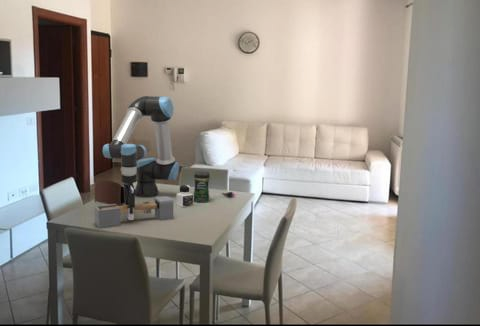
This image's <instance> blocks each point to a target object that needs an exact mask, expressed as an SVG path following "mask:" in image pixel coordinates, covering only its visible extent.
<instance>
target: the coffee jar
mask: <svg viewBox="0 0 480 326" xmlns="http://www.w3.org/2000/svg"><path fill="white" fill-rule="evenodd" d="M210 178H211V177H210V173H209V171H204V170H203V171H199V170H198V171H195V172H194V175H193V179H194V191H193V202H196V203H208V202H209V201H210V190H209V188H210V187H209V186H210V185H209V183H210Z"/></svg>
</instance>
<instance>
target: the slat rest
mask: <svg viewBox="0 0 480 326" xmlns="http://www.w3.org/2000/svg"><path fill="white" fill-rule="evenodd" d="M144 203H150V201H143V203H142V204H144ZM142 211H143V212H144V213H145V214H151V213H152V209H151V210H142Z"/></svg>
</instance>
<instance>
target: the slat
mask: <svg viewBox="0 0 480 326" xmlns="http://www.w3.org/2000/svg"><path fill="white" fill-rule="evenodd" d="M127 207H129V205H122V206H116V207H106V208H101V210H102V209H111V208H120V214H123V213H126V212H128V208H127ZM155 209H157V204H156V203H155V201H154V202H153V201H152V202H149V203H144V204H143V203H137V204H136V203H135V207H134V212H141V211H143V210H151V211H152V210H155Z"/></svg>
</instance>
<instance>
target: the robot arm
mask: <svg viewBox="0 0 480 326" xmlns="http://www.w3.org/2000/svg"><path fill="white" fill-rule="evenodd" d="M174 110H175V108H174V104H173V101H172V100H171V98H169V97H167V96H154V95H153V96H152V95H151V96H150V95H144V96H140V97H138V98H136V99H135V100H133V101H132V102H131V104H130V105H129V106H128V108H126V113H125V116H124V118H123V120H122V122H121V123H120V126H119V128H118V129H117V131H116V132H115V135H114V136H113V139H112V141H111V142H110V143H106V144H104V145H103V146H102V155H103V156H104V158H107V159H118V160H121V161H120V162H121V167H120V172H121V183H123V185H122V186H123V187H124V203H125V205H129V207H127V208H128V212H125V218H127V219H128V221H132V220H135V217H134V216H135V213H134V212H135V211H134V207H135V204H136V197H138V198H152V197H154V198H155V197H156V196H157V197H158V196H159V189H158V186H157V183H156V180H158V181H159V180H161V181H176V179H177V178H178V175H179V172H180V171H179V170H180V164H179V162H178V161H176V158H175V157H174V156H173V150H172V149H173V148H172V143H171V141H172V140H171V131H170V120H171V118H172V117H173V115H174ZM143 117H150V121H151V122H153V125H154V131H155V132H154V133H155V134H154V135H155V140H156V141H155V142H156V149H157V156H158V158H155V157H148V158H145V157H146V156H147V149H146V147H145V146H144V145H142V144H134V143H128V142H129V140H130V138H131V136H132V134H133V132H134V130H135V128H136V126H137V124H138V122H139V121H141V120H142V118H143ZM134 183H136V185H134ZM125 205H124V206H125Z"/></svg>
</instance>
